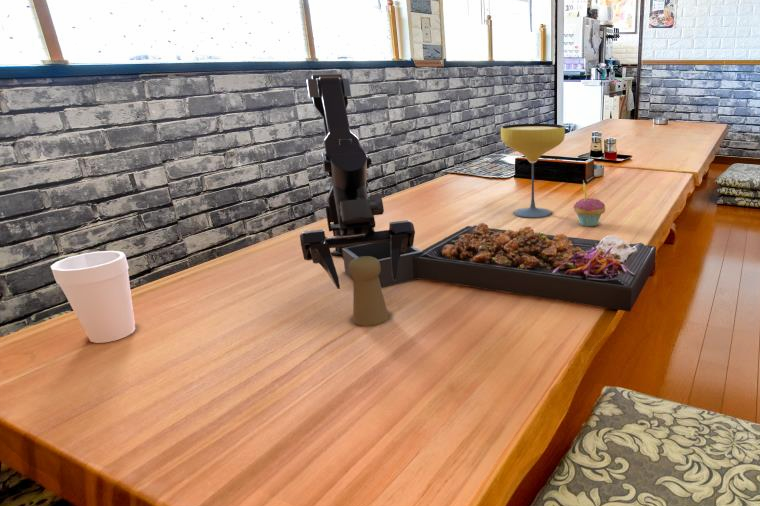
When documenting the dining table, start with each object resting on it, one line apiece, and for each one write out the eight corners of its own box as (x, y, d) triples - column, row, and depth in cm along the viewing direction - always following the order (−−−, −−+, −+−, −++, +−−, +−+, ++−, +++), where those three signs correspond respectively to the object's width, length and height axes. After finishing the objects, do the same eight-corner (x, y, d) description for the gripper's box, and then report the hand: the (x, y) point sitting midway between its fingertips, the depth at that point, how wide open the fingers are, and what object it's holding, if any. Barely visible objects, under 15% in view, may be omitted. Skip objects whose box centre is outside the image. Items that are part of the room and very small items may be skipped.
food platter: (654, 266, 113) (658, 219, 109) (630, 311, 92) (634, 255, 88) (467, 243, 130) (466, 202, 126) (411, 277, 109) (407, 228, 105)
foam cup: (92, 353, 82) (65, 275, 77) (66, 338, 87) (39, 264, 82) (157, 328, 90) (136, 256, 85) (130, 316, 94) (109, 247, 89)
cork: (379, 327, 89) (372, 265, 85) (346, 324, 90) (337, 263, 86) (394, 312, 94) (387, 253, 90) (362, 309, 96) (355, 251, 92)
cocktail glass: (540, 203, 169) (540, 122, 160) (575, 215, 155) (578, 126, 146) (491, 211, 161) (489, 126, 151) (523, 224, 146) (523, 131, 137)
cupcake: (569, 226, 144) (570, 182, 139) (578, 218, 151) (579, 176, 147) (600, 229, 141) (603, 184, 136) (607, 221, 148) (610, 178, 144)
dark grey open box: (345, 272, 113) (341, 247, 111) (400, 260, 120) (397, 237, 118) (366, 291, 104) (363, 264, 102) (424, 276, 110) (422, 251, 108)
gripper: (291, 183, 84) (302, 270, 79) (408, 174, 90) (426, 254, 85) (298, 219, 94) (309, 299, 88) (404, 209, 100) (420, 283, 94)
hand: (367, 283), depth 89 cm, fingers open, 9 cm apart
